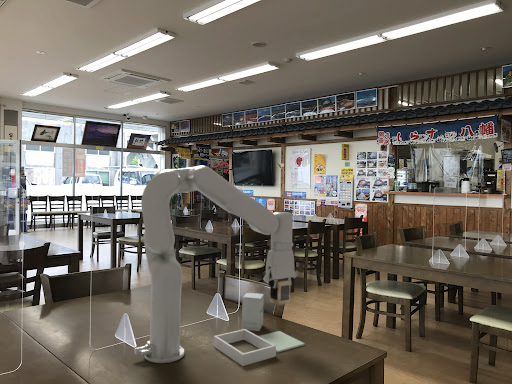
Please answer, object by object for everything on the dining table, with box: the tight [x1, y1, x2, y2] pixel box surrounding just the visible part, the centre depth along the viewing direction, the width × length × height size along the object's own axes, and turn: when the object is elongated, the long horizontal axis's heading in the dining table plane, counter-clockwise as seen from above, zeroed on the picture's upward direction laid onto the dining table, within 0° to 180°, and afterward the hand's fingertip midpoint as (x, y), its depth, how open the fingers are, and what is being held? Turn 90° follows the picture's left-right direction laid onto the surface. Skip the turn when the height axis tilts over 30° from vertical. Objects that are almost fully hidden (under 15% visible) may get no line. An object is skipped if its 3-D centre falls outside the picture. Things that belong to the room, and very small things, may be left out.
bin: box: [213, 329, 277, 367], centre depth 133 cm, size 13×18×4 cm
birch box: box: [269, 279, 291, 306], centre depth 141 cm, size 5×5×8 cm
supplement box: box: [241, 292, 265, 332], centre depth 156 cm, size 7×7×13 cm
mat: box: [258, 330, 305, 353], centre depth 142 cm, size 12×14×1 cm
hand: (280, 296), depth 142 cm, fingers closed on birch box, 5 cm apart
